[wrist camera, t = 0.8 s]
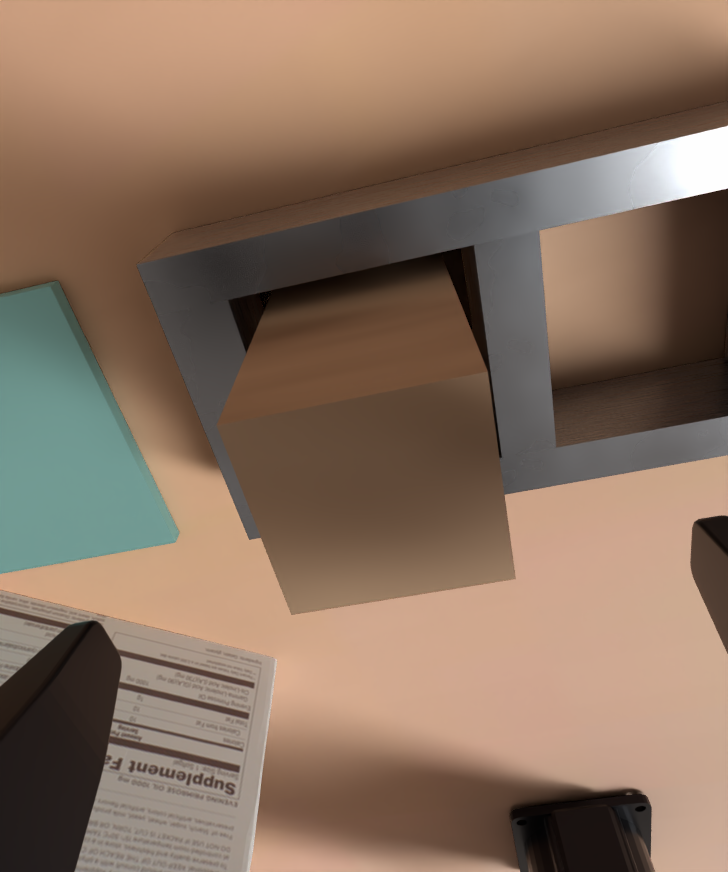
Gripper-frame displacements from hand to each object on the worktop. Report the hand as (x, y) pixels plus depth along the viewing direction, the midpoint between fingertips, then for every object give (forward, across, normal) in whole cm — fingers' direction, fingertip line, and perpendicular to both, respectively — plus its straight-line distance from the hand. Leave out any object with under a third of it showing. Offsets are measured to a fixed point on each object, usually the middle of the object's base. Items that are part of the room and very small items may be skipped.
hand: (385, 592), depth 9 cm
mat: (+10, +12, +1) cm, 15 cm away
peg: (+10, 0, 0) cm, 10 cm away
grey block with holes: (+10, -3, 0) cm, 10 cm away
